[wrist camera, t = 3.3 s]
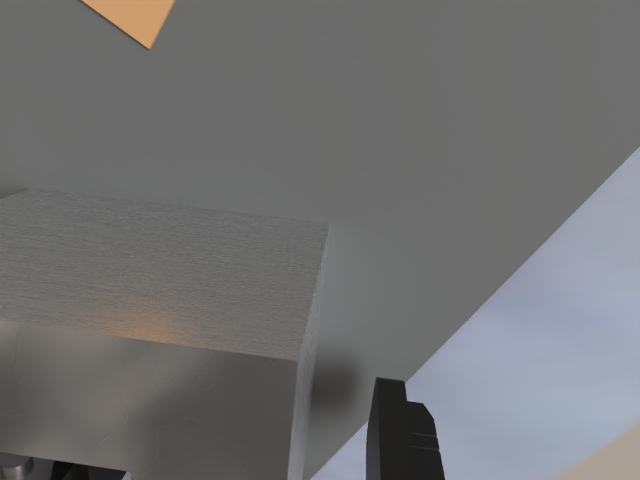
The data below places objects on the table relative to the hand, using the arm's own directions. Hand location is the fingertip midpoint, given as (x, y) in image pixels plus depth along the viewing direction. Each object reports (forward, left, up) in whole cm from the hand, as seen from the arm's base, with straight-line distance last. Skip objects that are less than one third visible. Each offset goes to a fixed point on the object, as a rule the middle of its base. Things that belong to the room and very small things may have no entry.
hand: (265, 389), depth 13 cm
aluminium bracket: (-2, +2, -1) cm, 3 cm away
